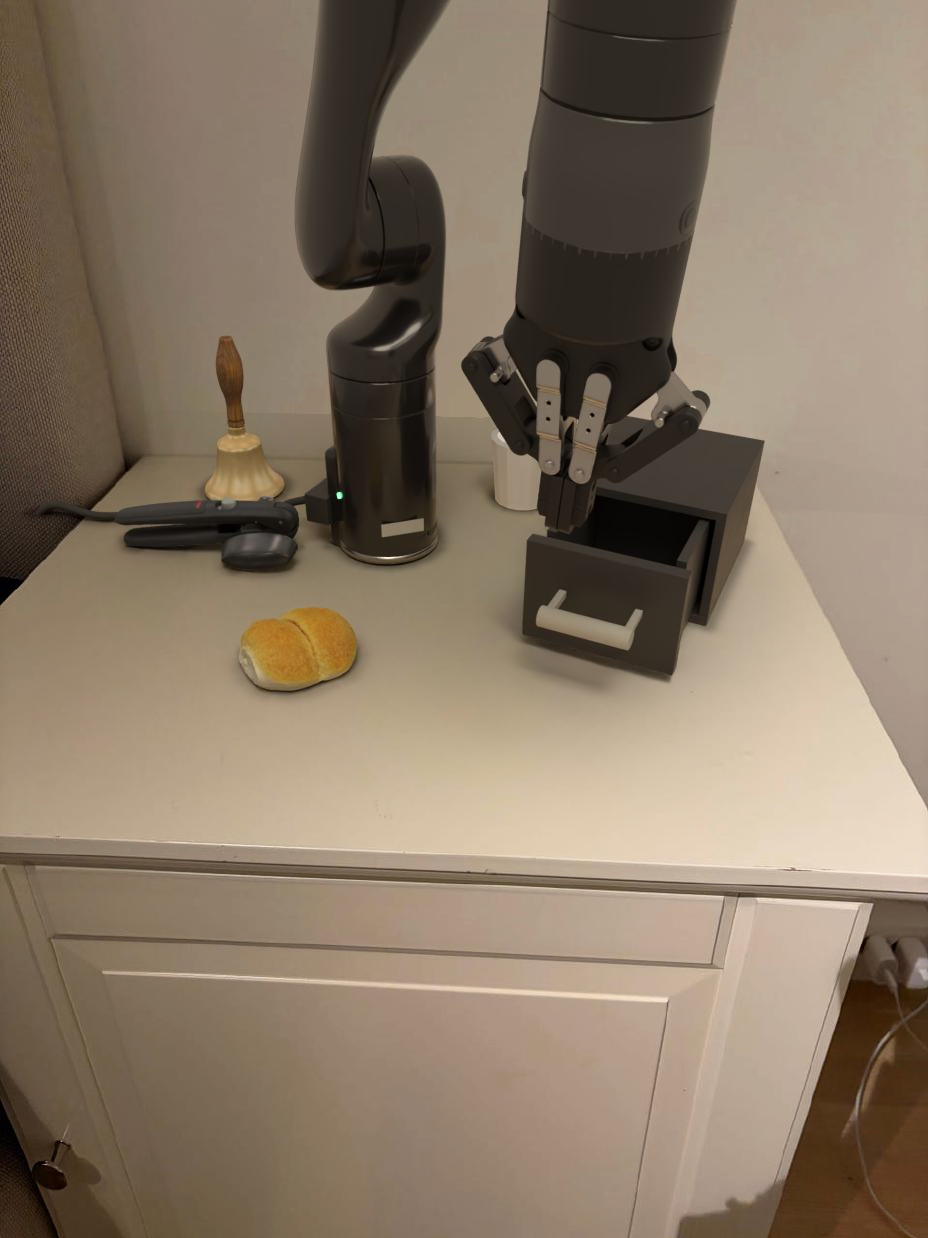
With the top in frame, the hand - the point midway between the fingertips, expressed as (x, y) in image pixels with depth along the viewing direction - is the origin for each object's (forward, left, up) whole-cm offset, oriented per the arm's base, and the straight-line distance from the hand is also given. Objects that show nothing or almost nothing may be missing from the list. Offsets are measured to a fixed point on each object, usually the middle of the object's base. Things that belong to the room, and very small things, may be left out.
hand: (562, 522), depth 52 cm
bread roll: (-22, +3, -19) cm, 29 cm away
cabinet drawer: (-1, +18, -18) cm, 26 cm away
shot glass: (-17, +37, -19) cm, 45 cm away
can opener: (-39, +14, -19) cm, 46 cm away
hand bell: (-44, +26, -19) cm, 55 cm away
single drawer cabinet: (-1, +30, -19) cm, 36 cm away
